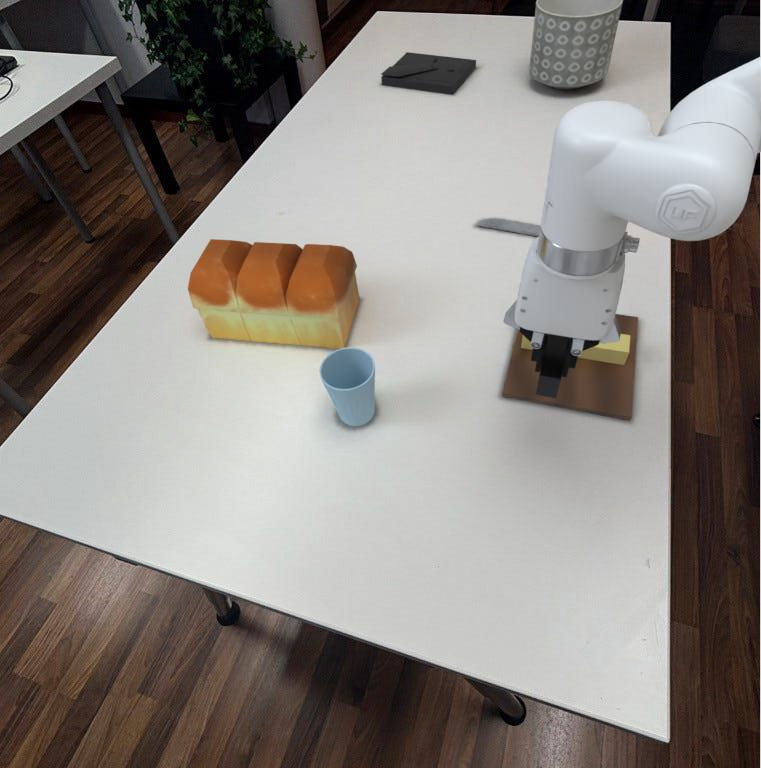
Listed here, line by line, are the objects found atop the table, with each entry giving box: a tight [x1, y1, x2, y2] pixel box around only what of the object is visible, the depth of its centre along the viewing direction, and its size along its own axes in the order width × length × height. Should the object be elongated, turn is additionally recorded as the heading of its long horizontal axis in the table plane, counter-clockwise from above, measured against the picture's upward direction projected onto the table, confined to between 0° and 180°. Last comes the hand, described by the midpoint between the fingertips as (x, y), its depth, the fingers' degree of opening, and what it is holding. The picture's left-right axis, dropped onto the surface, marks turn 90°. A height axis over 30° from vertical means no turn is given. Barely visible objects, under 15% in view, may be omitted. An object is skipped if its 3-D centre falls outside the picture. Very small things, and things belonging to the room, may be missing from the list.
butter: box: [578, 334, 630, 365], centre depth 84 cm, size 8×4×3 cm, turn 72°
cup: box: [319, 346, 376, 427], centre depth 80 cm, size 8×8×10 cm
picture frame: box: [380, 51, 477, 95], centre depth 150 cm, size 16×3×21 cm
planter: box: [528, 0, 624, 91], centre depth 134 cm, size 19×19×18 cm
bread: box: [187, 238, 361, 350], centre depth 93 cm, size 25×12×15 cm, turn 79°
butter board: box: [502, 313, 639, 421], centre depth 86 cm, size 18×20×1 cm
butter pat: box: [521, 335, 533, 350], centre depth 87 cm, size 2×4×3 cm, turn 162°
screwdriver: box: [536, 334, 569, 398], centre depth 69 cm, size 19×2×4 cm, turn 161°
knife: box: [476, 218, 541, 237], centre depth 106 cm, size 25×1×5 cm
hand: (552, 365), depth 67 cm, fingers closed on screwdriver, 2 cm apart
